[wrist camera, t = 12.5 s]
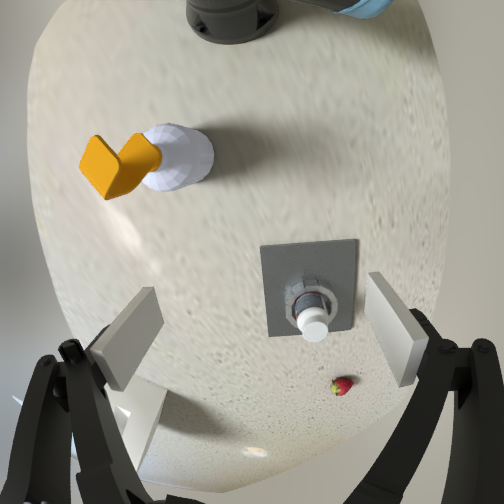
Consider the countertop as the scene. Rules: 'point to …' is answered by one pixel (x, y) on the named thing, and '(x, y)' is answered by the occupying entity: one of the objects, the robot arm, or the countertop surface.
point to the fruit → (341, 386)
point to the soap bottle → (148, 161)
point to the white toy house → (137, 415)
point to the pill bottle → (312, 316)
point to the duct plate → (308, 282)
